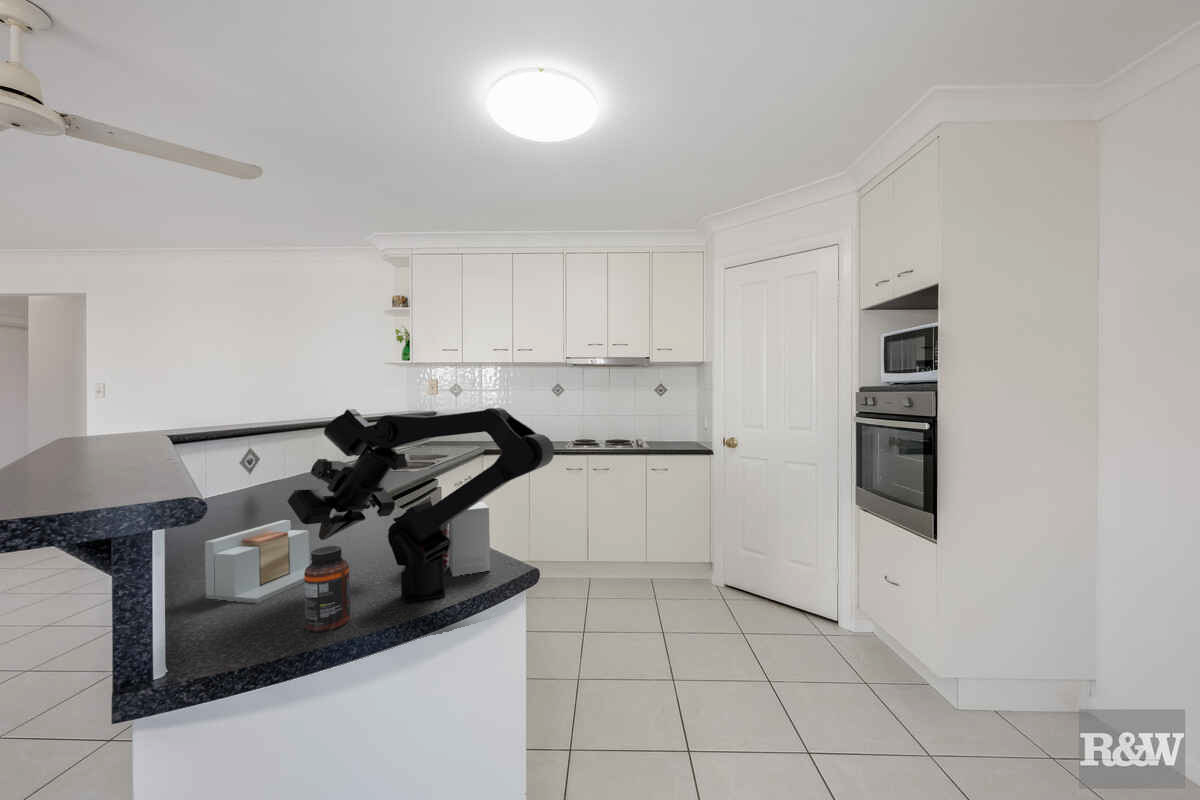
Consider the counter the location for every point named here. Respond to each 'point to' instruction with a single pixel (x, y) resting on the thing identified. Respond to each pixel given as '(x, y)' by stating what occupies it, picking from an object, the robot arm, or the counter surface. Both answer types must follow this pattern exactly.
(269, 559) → the push block
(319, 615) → the supplement bottle
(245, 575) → the mount
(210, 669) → the counter surface
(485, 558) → the supplement box
